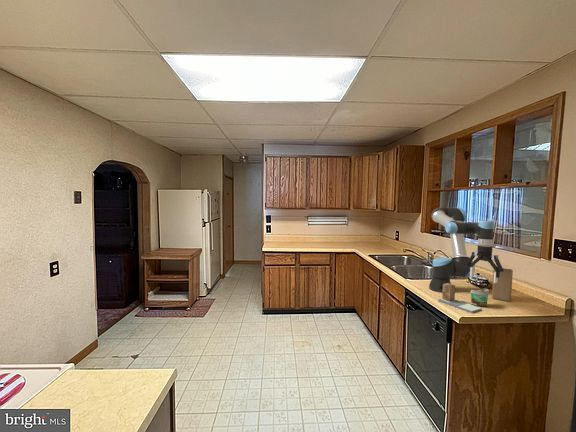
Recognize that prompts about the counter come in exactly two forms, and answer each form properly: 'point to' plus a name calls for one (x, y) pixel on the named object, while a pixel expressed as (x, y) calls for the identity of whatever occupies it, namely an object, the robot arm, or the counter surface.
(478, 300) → the food container
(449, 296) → the walnut pillar
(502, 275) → the wooden block
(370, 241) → the counter surface
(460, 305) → the board
